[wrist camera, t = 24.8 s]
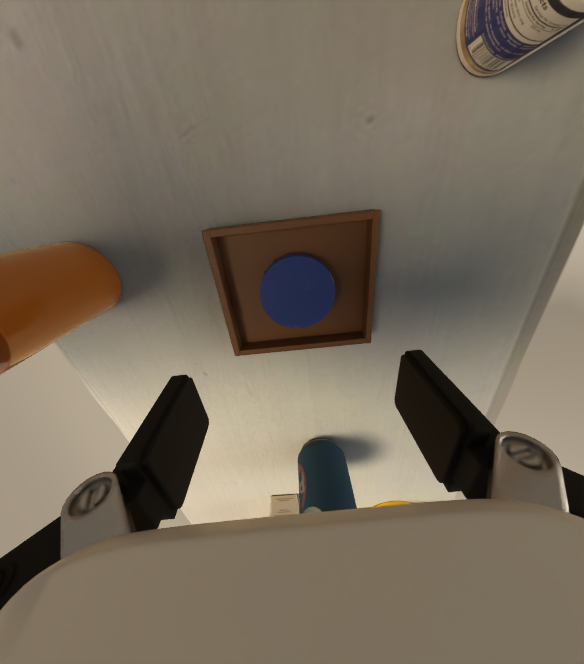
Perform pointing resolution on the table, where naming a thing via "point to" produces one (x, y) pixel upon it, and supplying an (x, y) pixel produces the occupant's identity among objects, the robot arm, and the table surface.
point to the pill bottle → (510, 30)
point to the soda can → (324, 478)
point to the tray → (296, 237)
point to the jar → (50, 296)
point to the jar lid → (297, 290)
